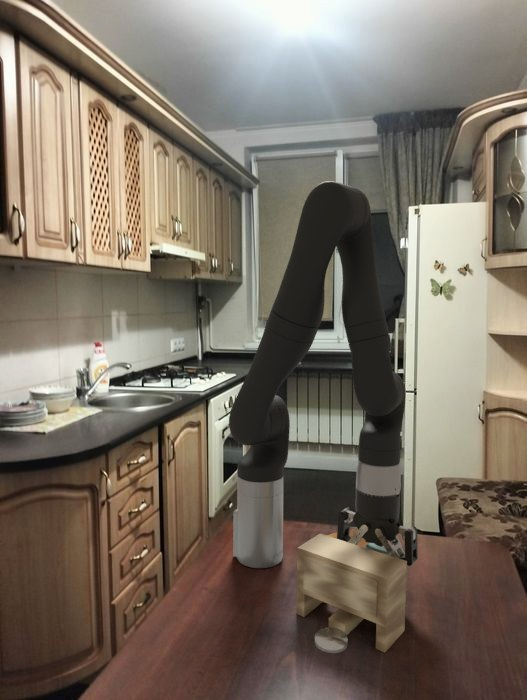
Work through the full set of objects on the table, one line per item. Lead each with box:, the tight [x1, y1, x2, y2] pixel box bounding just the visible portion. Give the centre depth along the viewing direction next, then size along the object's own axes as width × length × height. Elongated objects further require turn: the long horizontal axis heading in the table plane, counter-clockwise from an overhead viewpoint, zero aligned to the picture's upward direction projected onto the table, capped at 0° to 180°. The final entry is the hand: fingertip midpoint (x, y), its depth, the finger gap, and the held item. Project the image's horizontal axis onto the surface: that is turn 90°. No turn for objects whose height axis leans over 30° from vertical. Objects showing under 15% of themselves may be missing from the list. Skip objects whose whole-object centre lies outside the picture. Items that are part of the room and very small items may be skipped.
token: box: [314, 626, 349, 654], centre depth 84 cm, size 5×5×1 cm
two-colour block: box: [328, 543, 391, 636], centre depth 91 cm, size 4×15×9 cm, turn 142°
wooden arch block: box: [296, 533, 408, 653], centre depth 88 cm, size 16×7×12 cm, turn 52°
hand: (374, 575), depth 96 cm, fingers open, 8 cm apart
